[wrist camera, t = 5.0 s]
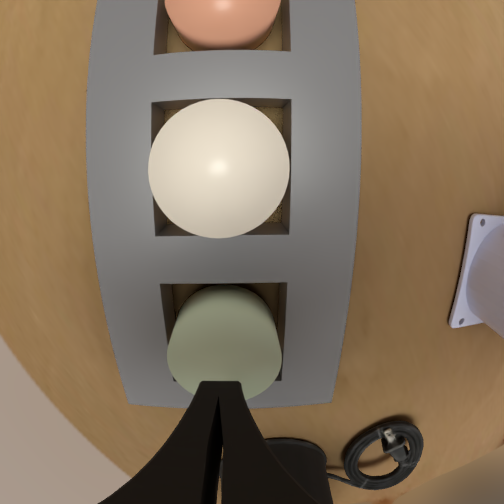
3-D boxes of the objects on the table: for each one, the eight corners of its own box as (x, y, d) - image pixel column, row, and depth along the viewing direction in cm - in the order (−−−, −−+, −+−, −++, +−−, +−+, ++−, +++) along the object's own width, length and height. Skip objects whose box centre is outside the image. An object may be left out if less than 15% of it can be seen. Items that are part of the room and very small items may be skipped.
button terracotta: (273, -19, 12) (280, -46, 9) (274, 58, 13) (282, 39, 11) (178, -17, 12) (169, -43, 9) (172, 60, 13) (160, 43, 10)
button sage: (276, 283, 15) (284, 311, 12) (272, 366, 17) (279, 400, 14) (172, 284, 15) (159, 311, 12) (182, 367, 16) (174, 401, 14)
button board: (332, -41, 11) (345, -62, 9) (322, 376, 19) (331, 402, 17) (123, -37, 11) (110, -57, 8) (138, 378, 19) (128, 403, 16)
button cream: (279, 110, 13) (289, 99, 10) (278, 221, 14) (287, 237, 12) (164, 112, 13) (147, 103, 10) (167, 223, 14) (151, 239, 11)
